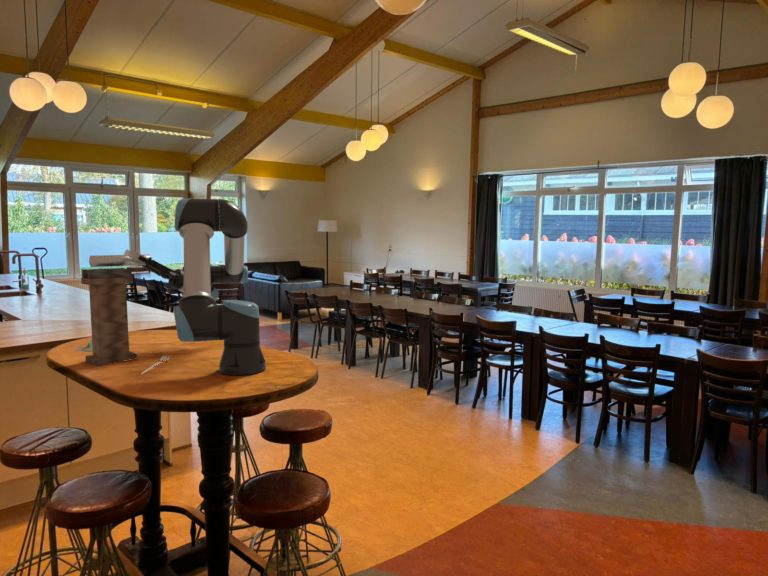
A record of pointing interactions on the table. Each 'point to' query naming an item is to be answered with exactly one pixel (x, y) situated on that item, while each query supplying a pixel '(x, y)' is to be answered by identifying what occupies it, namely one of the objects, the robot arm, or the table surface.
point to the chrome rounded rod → (113, 260)
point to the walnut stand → (108, 314)
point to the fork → (155, 364)
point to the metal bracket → (87, 348)
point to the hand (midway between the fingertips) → (127, 252)
